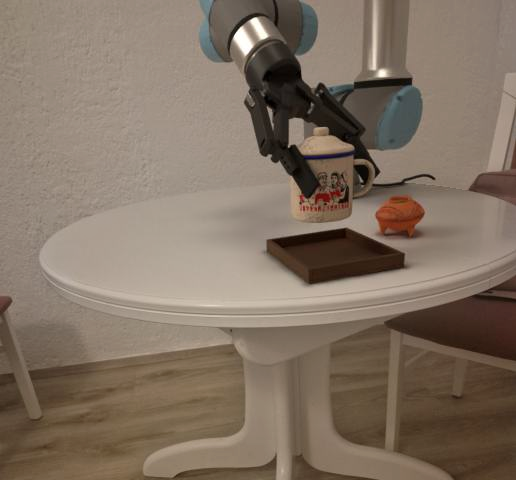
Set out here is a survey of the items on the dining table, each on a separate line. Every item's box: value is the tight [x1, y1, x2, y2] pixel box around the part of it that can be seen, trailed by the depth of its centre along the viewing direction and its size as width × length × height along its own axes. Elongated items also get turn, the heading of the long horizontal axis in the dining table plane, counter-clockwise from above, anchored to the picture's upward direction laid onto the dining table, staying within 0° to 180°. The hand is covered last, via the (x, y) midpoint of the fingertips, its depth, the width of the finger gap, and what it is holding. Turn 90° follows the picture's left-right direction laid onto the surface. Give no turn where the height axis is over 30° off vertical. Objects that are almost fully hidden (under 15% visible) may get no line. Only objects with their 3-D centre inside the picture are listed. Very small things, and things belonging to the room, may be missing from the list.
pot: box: [374, 194, 426, 238], centre depth 80 cm, size 8×8×7 cm
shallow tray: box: [265, 227, 406, 285], centre depth 71 cm, size 14×17×2 cm
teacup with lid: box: [289, 127, 376, 224], centre depth 66 cm, size 12×9×12 cm
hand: (344, 185), depth 65 cm, fingers closed on teacup with lid, 11 cm apart
